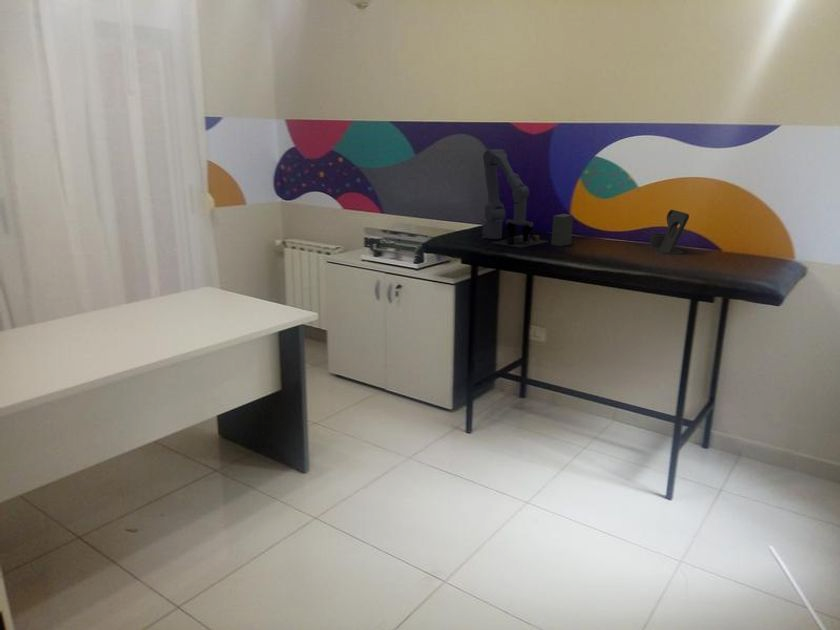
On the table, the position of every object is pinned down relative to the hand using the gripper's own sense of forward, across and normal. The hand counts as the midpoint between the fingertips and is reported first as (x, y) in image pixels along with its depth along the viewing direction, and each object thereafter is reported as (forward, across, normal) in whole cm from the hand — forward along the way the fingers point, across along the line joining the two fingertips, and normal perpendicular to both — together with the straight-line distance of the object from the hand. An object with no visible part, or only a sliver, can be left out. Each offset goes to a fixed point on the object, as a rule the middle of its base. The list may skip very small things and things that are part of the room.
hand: (518, 240), depth 295 cm
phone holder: (+2, +57, +37) cm, 68 cm away
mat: (+2, 0, +2) cm, 3 cm away
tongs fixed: (+1, 0, 0) cm, 1 cm away
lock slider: (+1, +3, +10) cm, 11 cm away
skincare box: (+2, +17, +11) cm, 20 cm away
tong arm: (+1, +1, -1) cm, 2 cm away
